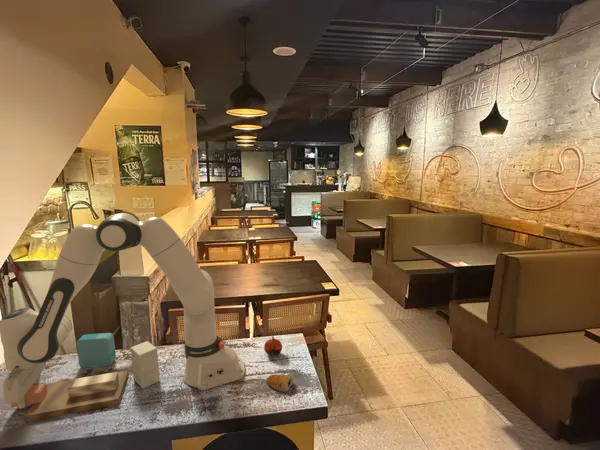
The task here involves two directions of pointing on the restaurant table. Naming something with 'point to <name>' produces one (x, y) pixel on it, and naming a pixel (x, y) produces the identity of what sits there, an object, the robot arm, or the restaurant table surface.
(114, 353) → the data package
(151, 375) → the small box
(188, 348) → the robot arm
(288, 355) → the restaurant table surface
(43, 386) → the orange rectangular block
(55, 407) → the board
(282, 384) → the pastry
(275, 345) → the pomegranate
